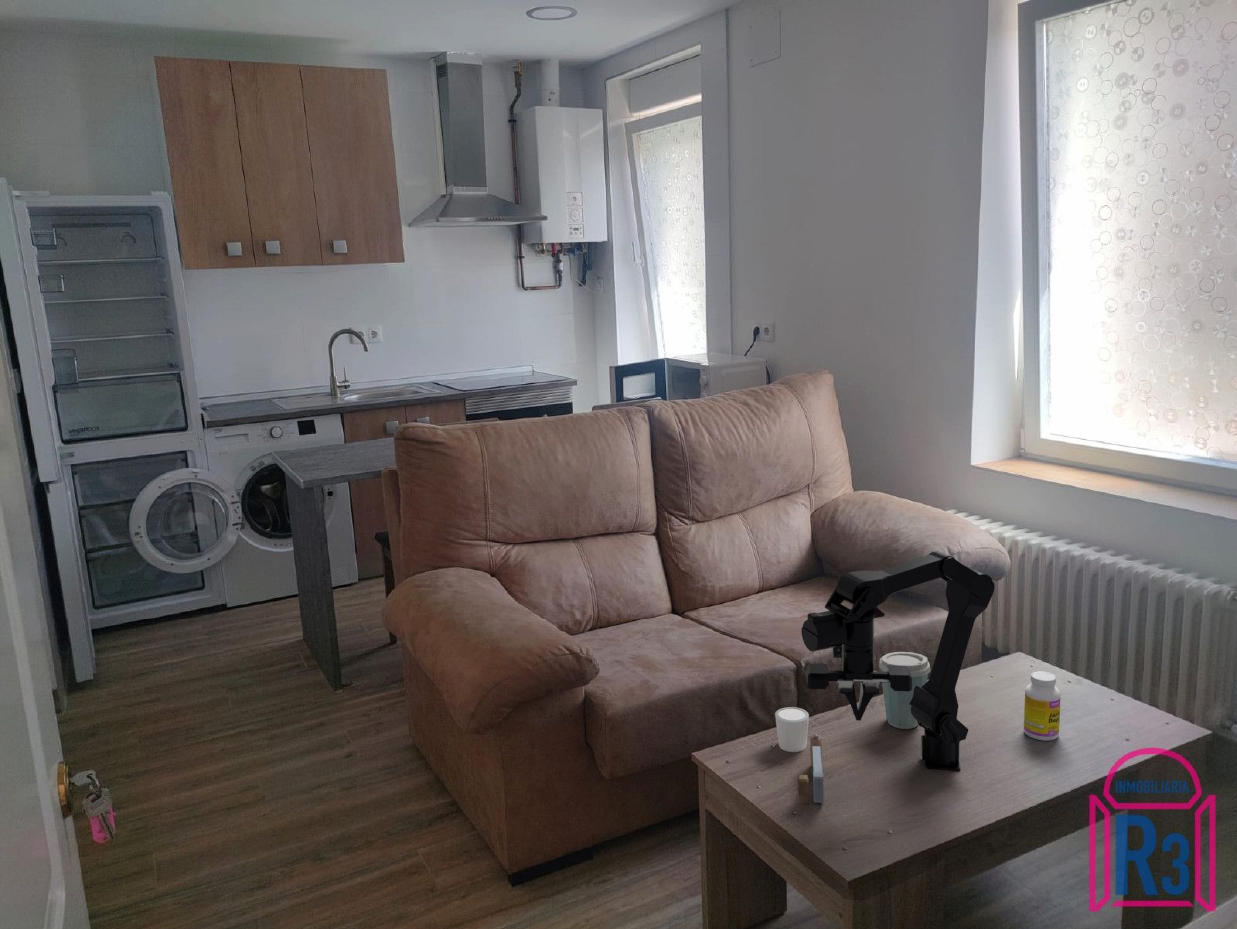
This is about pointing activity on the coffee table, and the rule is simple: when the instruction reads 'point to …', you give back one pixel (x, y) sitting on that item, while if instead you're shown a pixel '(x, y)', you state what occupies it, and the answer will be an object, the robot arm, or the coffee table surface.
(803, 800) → the brown rectangular block
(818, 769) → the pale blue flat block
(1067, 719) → the coffee table surface
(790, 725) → the white cup
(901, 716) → the disposable coffee cup
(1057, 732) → the supplement bottle
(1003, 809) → the coffee table surface
